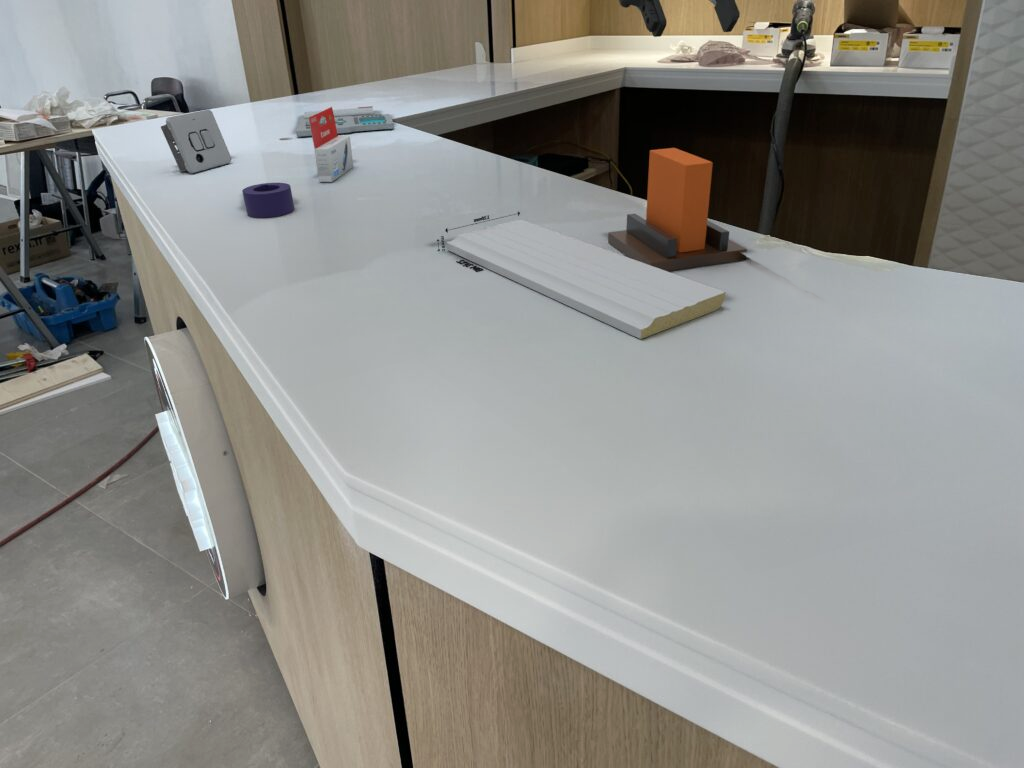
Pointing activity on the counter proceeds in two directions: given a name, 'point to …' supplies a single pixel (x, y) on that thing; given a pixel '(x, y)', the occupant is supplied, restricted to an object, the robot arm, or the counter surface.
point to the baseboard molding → (587, 276)
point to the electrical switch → (196, 141)
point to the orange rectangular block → (679, 196)
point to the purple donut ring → (268, 200)
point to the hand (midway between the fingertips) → (696, 28)
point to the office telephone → (349, 121)
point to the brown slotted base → (673, 246)
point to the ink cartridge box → (330, 147)
